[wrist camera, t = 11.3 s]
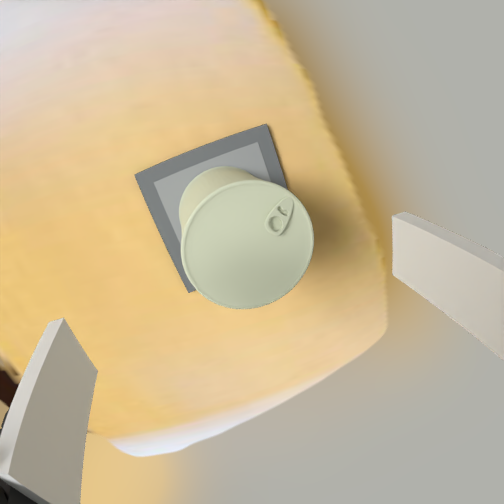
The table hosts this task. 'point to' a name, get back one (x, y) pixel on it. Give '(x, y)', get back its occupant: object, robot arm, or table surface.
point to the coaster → (194, 163)
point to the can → (243, 238)
